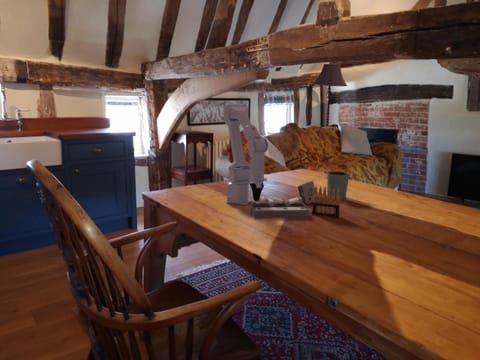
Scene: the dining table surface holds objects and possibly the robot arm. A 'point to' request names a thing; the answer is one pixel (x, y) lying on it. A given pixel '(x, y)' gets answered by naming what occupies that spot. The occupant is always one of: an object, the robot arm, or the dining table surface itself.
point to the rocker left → (262, 200)
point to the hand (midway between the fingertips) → (256, 200)
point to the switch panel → (279, 210)
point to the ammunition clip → (326, 203)
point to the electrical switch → (307, 192)
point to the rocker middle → (278, 200)
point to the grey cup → (338, 182)
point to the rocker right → (295, 200)
